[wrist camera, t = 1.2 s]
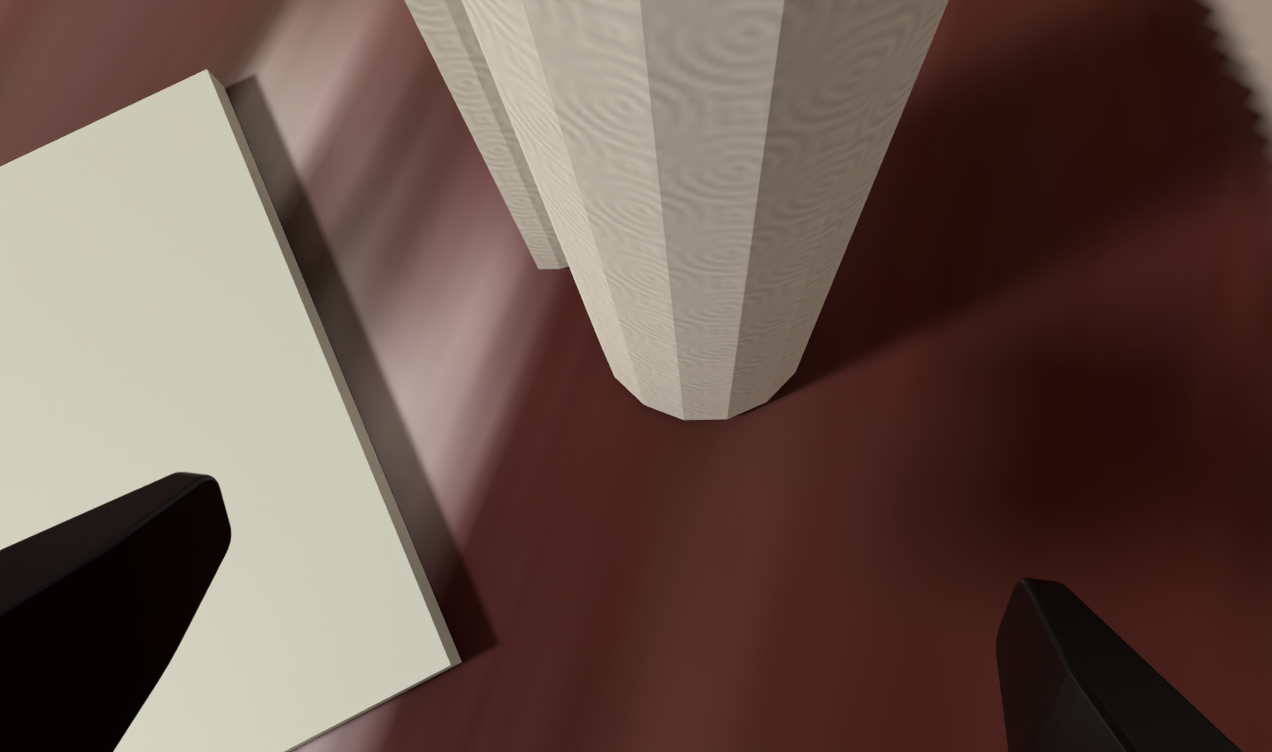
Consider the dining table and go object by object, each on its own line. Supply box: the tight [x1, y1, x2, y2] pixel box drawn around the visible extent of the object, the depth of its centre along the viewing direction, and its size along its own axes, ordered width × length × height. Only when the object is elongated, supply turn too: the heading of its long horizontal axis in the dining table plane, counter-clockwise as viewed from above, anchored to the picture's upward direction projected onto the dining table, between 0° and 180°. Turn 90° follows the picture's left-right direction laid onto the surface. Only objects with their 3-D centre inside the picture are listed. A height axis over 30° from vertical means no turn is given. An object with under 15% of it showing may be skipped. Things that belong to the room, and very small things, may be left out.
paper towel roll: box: [405, 0, 948, 420], centre depth 14 cm, size 7×6×21 cm
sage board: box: [0, 69, 462, 752], centre depth 24 cm, size 20×20×1 cm
